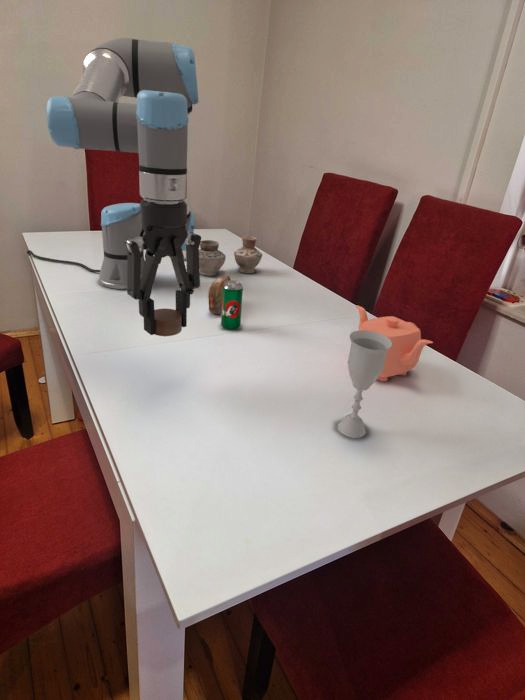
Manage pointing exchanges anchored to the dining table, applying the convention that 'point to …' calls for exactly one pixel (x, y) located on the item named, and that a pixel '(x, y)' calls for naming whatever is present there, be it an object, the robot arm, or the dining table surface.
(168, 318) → the brown short cylinder
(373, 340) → the chalice
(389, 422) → the dining table surface
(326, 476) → the dining table surface
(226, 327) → the soda can
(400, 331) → the teapot
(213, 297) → the bread slice
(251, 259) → the pottery
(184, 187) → the robot arm
